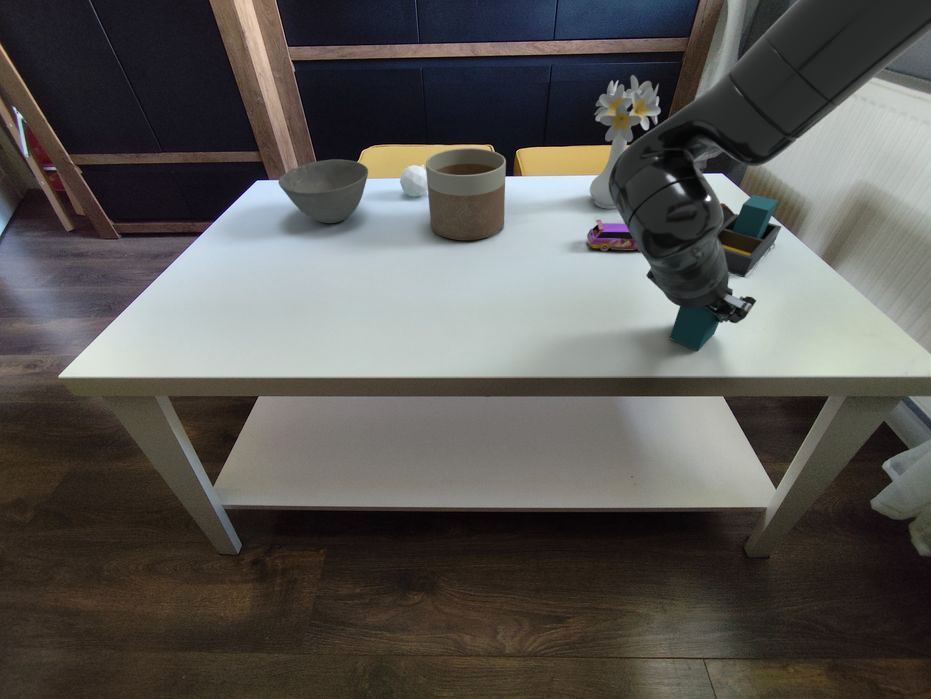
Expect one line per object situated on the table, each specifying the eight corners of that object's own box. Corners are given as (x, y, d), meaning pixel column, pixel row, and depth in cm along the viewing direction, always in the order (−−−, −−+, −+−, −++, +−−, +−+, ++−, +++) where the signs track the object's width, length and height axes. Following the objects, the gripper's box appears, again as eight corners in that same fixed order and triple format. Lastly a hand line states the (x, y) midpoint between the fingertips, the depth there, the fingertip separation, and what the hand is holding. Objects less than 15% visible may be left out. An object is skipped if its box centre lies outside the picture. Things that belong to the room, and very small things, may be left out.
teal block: (714, 333, 68) (733, 289, 63) (697, 351, 66) (716, 306, 60) (686, 321, 71) (702, 277, 66) (669, 338, 68) (684, 293, 63)
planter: (427, 213, 103) (422, 151, 94) (495, 207, 105) (496, 145, 96) (435, 246, 92) (430, 179, 83) (511, 238, 93) (514, 171, 84)
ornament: (402, 189, 114) (417, 160, 112) (425, 204, 113) (441, 175, 111) (389, 184, 108) (405, 153, 105) (414, 201, 107) (430, 170, 104)
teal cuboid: (761, 239, 89) (778, 200, 84) (751, 250, 86) (768, 210, 81) (737, 233, 91) (753, 194, 86) (727, 243, 88) (742, 203, 83)
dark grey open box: (773, 243, 89) (781, 226, 87) (744, 276, 80) (752, 259, 78) (728, 230, 94) (735, 213, 91) (696, 260, 85) (702, 243, 83)
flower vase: (580, 220, 99) (600, 92, 82) (581, 188, 112) (598, 71, 96) (642, 224, 97) (675, 93, 80) (635, 190, 110) (662, 72, 94)
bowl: (333, 195, 113) (323, 154, 106) (391, 211, 105) (385, 167, 98) (273, 225, 101) (258, 180, 95) (333, 245, 93) (322, 198, 87)
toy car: (652, 253, 87) (658, 231, 84) (589, 252, 88) (593, 230, 85) (645, 239, 92) (651, 218, 89) (585, 238, 93) (589, 217, 89)
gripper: (772, 260, 48) (772, 307, 62) (651, 219, 56) (675, 268, 70) (732, 321, 49) (740, 353, 63) (618, 271, 57) (648, 309, 71)
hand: (706, 308), depth 66 cm, fingers closed on teal block, 4 cm apart
